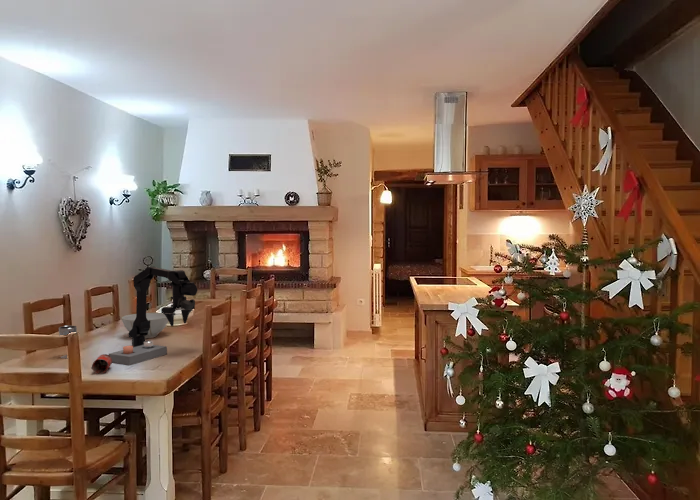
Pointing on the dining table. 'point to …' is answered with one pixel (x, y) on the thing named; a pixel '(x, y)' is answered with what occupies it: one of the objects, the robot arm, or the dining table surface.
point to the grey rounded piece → (148, 344)
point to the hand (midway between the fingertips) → (178, 324)
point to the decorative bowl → (156, 323)
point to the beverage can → (101, 363)
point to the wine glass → (67, 332)
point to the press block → (138, 354)
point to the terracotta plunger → (127, 349)
